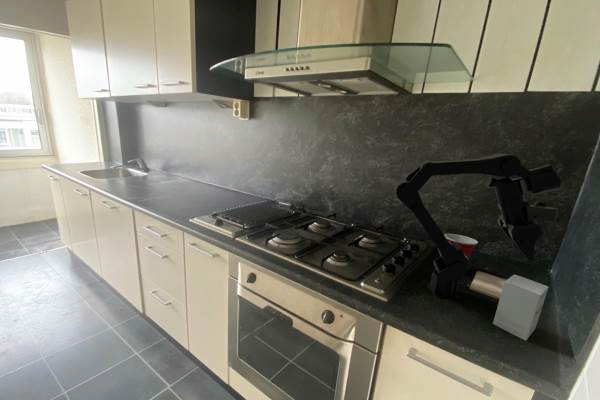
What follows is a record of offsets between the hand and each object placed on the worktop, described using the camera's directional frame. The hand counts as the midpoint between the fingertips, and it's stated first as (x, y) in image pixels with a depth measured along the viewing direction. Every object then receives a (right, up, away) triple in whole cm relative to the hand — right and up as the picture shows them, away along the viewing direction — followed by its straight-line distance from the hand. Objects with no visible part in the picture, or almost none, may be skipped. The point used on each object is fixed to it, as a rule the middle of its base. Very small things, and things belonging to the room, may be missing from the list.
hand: (525, 255), depth 74 cm
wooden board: (+4, -14, +15) cm, 21 cm away
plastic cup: (-3, -10, +28) cm, 30 cm away
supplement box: (-6, -18, -3) cm, 19 cm away
